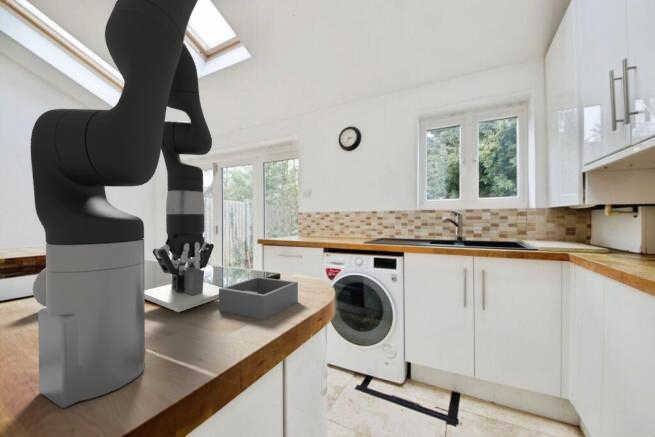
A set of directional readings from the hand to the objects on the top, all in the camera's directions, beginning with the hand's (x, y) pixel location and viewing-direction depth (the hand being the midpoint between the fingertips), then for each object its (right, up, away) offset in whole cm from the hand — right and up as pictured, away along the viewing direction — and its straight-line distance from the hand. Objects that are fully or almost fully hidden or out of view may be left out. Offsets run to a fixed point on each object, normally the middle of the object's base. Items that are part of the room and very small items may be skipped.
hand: (186, 289), depth 59 cm
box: (+17, -4, 0) cm, 17 cm away
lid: (0, -2, 0) cm, 2 cm away
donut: (-29, -4, +1) cm, 29 cm away
